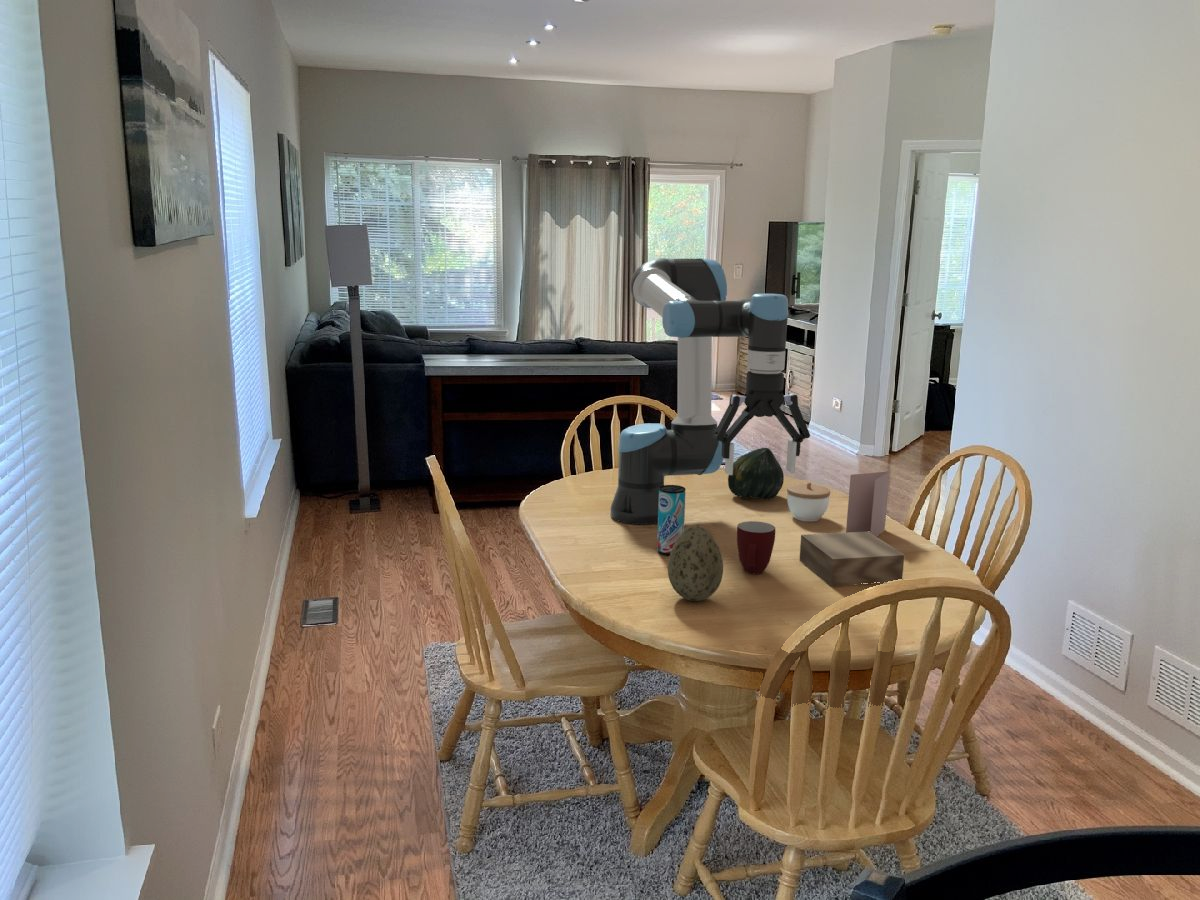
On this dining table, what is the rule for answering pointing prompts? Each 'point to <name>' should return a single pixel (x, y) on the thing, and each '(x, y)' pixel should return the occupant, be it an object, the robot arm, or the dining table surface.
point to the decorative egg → (695, 564)
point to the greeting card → (868, 502)
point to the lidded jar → (807, 501)
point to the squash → (756, 475)
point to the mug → (755, 545)
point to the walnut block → (851, 558)
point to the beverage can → (670, 517)
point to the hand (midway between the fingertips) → (759, 472)
